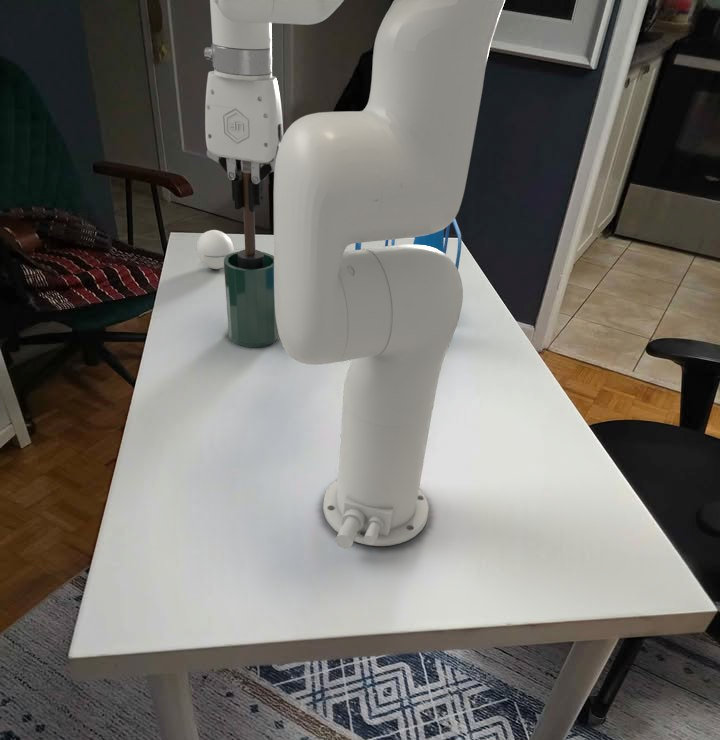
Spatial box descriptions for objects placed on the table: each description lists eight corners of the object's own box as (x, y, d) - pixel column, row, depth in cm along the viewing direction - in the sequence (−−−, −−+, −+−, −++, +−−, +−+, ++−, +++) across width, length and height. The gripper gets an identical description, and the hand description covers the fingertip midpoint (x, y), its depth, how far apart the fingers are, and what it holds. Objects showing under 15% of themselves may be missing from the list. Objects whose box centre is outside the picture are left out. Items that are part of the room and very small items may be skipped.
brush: (258, 297, 103) (254, 177, 91) (235, 292, 103) (228, 172, 92) (268, 288, 106) (265, 170, 94) (245, 283, 106) (240, 166, 95)
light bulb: (195, 274, 127) (191, 236, 123) (201, 260, 133) (197, 223, 128) (246, 277, 128) (244, 239, 123) (250, 262, 134) (248, 226, 129)
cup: (266, 351, 106) (264, 274, 97) (220, 341, 107) (214, 264, 99) (285, 330, 112) (284, 255, 104) (241, 321, 113) (237, 247, 105)
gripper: (174, 58, 83) (188, 206, 95) (288, 73, 80) (288, 224, 92) (201, 52, 89) (211, 193, 100) (309, 66, 86) (306, 209, 98)
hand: (248, 207), depth 96 cm, fingers closed on brush
